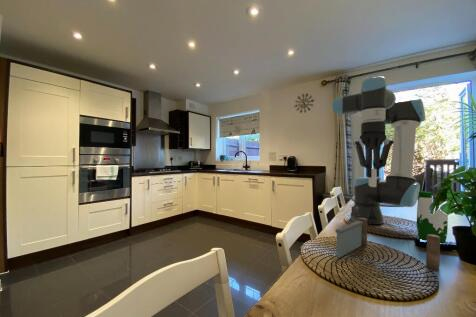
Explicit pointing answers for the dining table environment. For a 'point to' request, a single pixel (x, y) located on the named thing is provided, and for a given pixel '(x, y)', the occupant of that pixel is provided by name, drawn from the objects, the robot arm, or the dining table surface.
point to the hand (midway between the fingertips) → (372, 186)
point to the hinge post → (363, 231)
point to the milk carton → (430, 218)
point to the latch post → (433, 252)
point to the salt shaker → (354, 214)
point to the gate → (348, 238)
